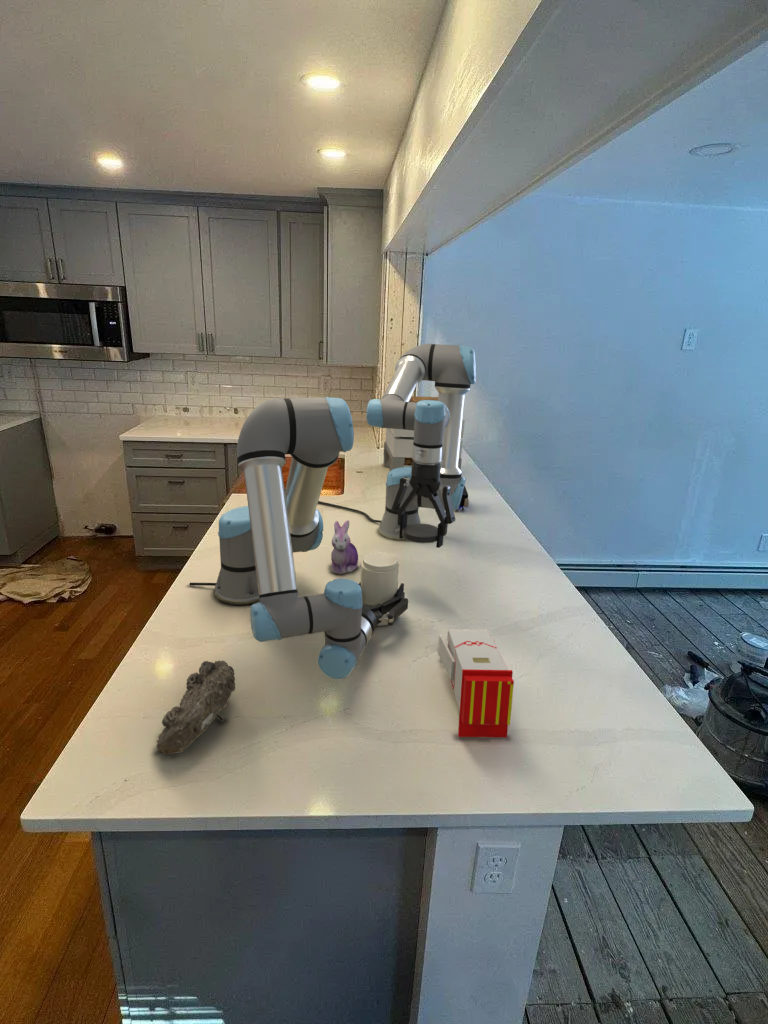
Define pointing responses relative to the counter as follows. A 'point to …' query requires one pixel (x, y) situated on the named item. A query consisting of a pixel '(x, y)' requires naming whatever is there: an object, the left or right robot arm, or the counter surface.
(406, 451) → the white wooden crate
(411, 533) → the lid
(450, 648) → the toy
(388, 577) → the jar
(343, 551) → the figurine
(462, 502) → the figurine character
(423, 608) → the counter surface
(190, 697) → the fossil
